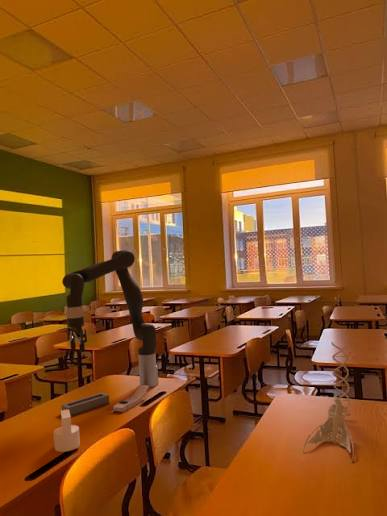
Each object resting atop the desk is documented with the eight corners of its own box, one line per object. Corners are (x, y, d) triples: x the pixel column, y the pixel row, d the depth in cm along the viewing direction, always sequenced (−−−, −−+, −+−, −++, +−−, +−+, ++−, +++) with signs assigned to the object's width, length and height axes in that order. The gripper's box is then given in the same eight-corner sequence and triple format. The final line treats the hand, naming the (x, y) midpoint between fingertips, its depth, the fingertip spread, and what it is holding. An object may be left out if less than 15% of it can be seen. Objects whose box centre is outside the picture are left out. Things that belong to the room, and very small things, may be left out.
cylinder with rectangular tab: (54, 443, 155) (52, 412, 155) (78, 438, 158) (77, 407, 158) (55, 453, 147) (53, 420, 147) (80, 448, 150) (79, 415, 150)
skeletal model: (301, 454, 137) (311, 387, 153) (308, 466, 142) (316, 399, 159) (352, 463, 129) (356, 390, 145) (357, 475, 135) (360, 404, 151)
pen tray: (102, 400, 201) (101, 392, 201) (109, 403, 197) (108, 395, 197) (61, 413, 187) (61, 404, 187) (68, 416, 182) (68, 407, 182)
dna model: (349, 411, 171) (345, 339, 171) (353, 417, 164) (349, 343, 164) (332, 412, 171) (328, 340, 171) (336, 418, 165) (332, 343, 165)
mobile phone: (150, 385, 203) (119, 402, 181) (150, 397, 203) (120, 415, 181) (140, 384, 206) (108, 400, 184) (140, 396, 206) (109, 413, 184)
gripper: (90, 316, 189) (92, 351, 189) (75, 314, 199) (77, 347, 199) (75, 318, 184) (77, 354, 184) (60, 316, 194) (63, 350, 194)
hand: (77, 350), depth 192 cm, fingers open, 8 cm apart
